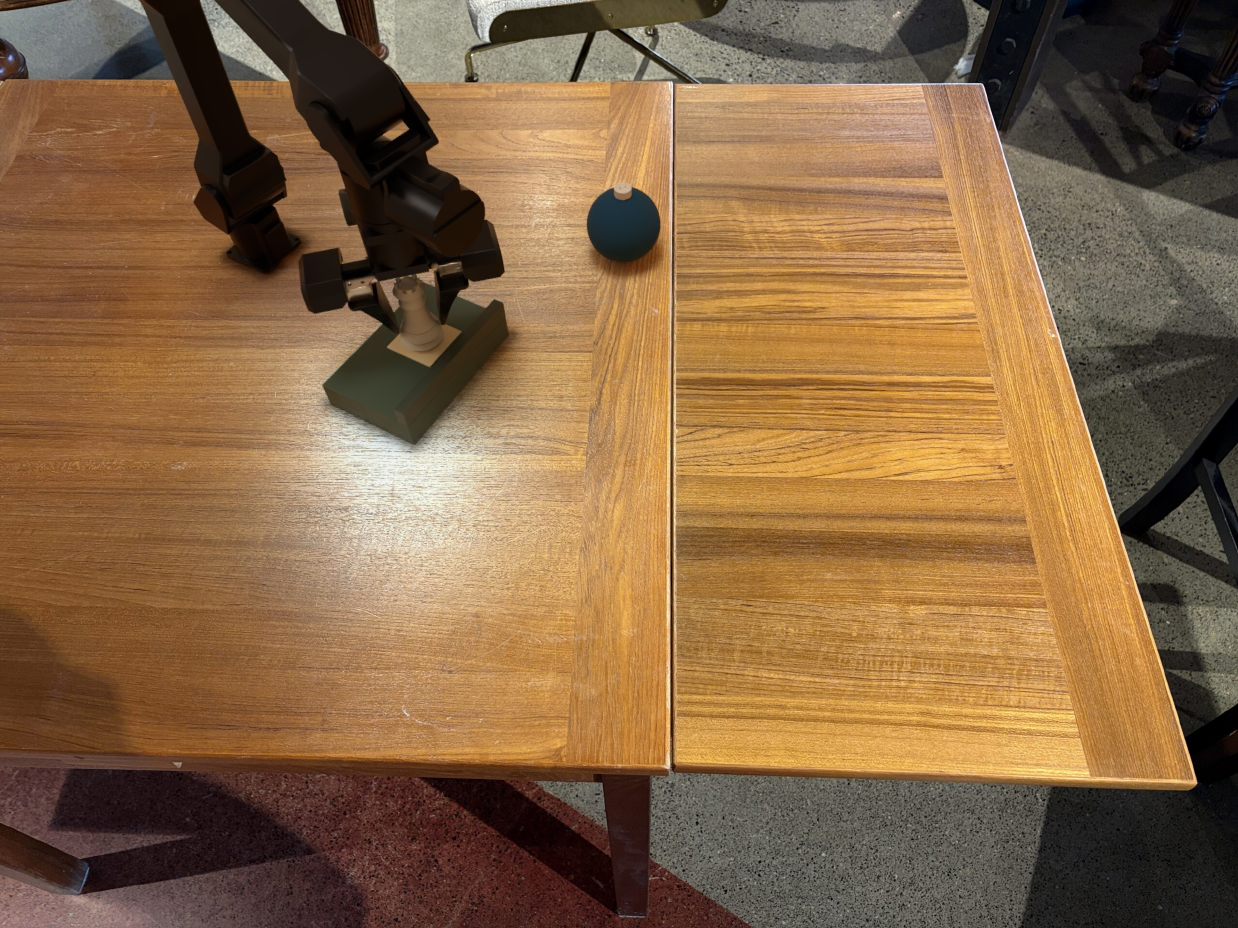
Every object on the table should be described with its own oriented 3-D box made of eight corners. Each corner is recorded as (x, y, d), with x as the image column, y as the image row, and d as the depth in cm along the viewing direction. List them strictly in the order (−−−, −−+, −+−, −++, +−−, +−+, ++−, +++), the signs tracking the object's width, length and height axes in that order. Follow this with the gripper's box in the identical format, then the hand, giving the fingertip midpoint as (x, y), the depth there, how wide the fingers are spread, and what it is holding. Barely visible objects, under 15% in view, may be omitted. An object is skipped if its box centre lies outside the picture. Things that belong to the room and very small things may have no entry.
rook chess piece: (403, 324, 95) (385, 267, 88) (445, 321, 95) (430, 264, 88) (400, 356, 92) (382, 299, 86) (444, 352, 92) (429, 296, 86)
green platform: (330, 403, 93) (315, 372, 89) (428, 301, 101) (419, 268, 97) (414, 445, 89) (403, 414, 85) (509, 335, 98) (503, 302, 94)
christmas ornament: (642, 221, 108) (642, 150, 100) (671, 265, 104) (674, 194, 95) (577, 241, 106) (572, 170, 98) (605, 286, 102) (601, 216, 94)
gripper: (473, 132, 85) (495, 257, 98) (273, 167, 82) (322, 291, 95) (494, 206, 79) (514, 329, 92) (279, 246, 76) (331, 367, 89)
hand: (420, 326), depth 92 cm, fingers closed on rook chess piece, 4 cm apart
